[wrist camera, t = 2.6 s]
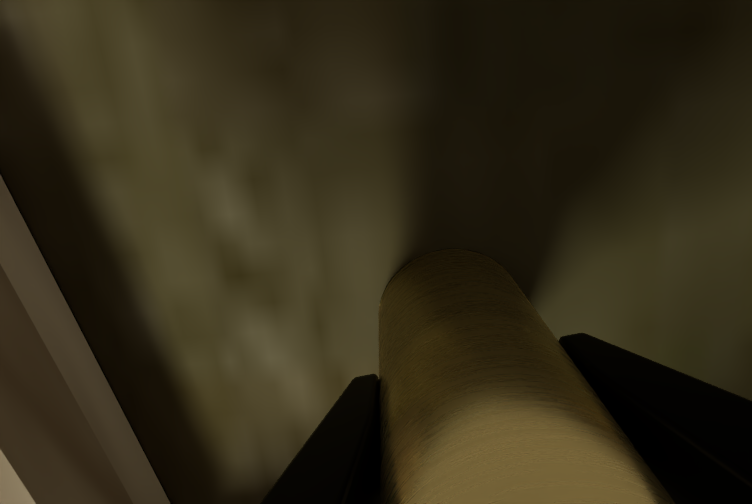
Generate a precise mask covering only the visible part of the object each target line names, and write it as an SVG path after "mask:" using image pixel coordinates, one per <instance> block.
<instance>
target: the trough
mask: <svg viewBox="0 0 752 504" xmlns="http://www.w3.org/2000/svg"><path fill="white" fill-rule="evenodd" d="M0 504H170V502H169V500H168V498H167V496H166V494H165V492H164V490H163V488H162V486H161V484H160V482H159V480H158V478H157V477H156V475H155V473H154V471H153V469H152V467H151V465H150V463H149V461H148V459H147V457H146V455H145V453H144V451H143V449H142V448H141V446H140V444H139V442H138V440H137V438H136V436H135V434H134V432H133V430H132V428H131V426H130V424H129V422H128V420H127V419H126V417H125V415H124V413H123V411H122V409H121V407H120V405H119V403H118V401H117V399H116V397H115V395H114V393H113V391H112V390H111V388H110V386H109V384H108V382H107V380H106V378H105V376H104V374H103V372H102V370H101V368H100V366H99V364H98V362H97V361H96V359H95V357H94V355H93V353H92V351H91V349H90V347H89V345H88V343H87V341H86V339H85V337H84V335H83V333H82V332H81V330H80V328H79V326H78V324H77V322H76V320H75V318H74V316H73V314H72V312H71V310H70V308H69V306H68V304H67V303H66V301H65V299H64V297H63V295H62V293H61V291H60V289H59V287H58V285H57V283H56V281H55V279H54V277H53V275H52V274H51V272H50V270H49V268H48V266H47V264H46V262H45V260H44V258H43V256H42V254H41V252H40V250H39V248H38V246H37V245H36V243H35V241H34V239H33V237H32V235H31V233H30V231H29V229H28V227H27V225H26V223H25V221H24V219H23V217H22V216H21V214H20V212H19V210H18V208H17V206H16V204H15V202H14V200H13V198H12V196H11V194H10V192H9V190H8V188H7V187H6V185H5V183H4V181H3V179H2V177H1V175H0Z"/></svg>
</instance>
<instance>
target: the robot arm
mask: <svg viewBox="0 0 752 504" xmlns="http://www.w3.org/2000/svg"><path fill="white" fill-rule="evenodd" d="M559 343H560V344H561V346H562V347H563V349H564V350H565V351H566V353H567V354H568V356H569V357H570V358H571V360H572V361H573V362H574V364H575V365H576V367H577V368H578V369H579V371H580V372H581V374H582V375H583V376H584V378H585V379H586V380H587V382H588V383H589V385H590V386H591V387H592V389H593V390H594V391H595V393H596V394H597V396H598V397H599V398H600V400H601V401H602V403H603V404H604V405H605V407H606V408H607V409H608V411H609V412H610V414H611V415H612V416H613V418H614V419H615V421H616V422H617V423H618V425H619V426H620V427H621V429H622V430H623V432H624V433H625V434H626V436H627V437H628V438H629V440H630V441H631V443H632V444H633V445H634V447H635V448H636V450H637V451H638V452H639V454H640V455H641V456H642V458H643V459H644V461H645V462H646V463H647V465H648V466H649V468H650V469H651V470H652V472H653V473H654V474H655V476H656V477H657V479H658V480H659V481H660V483H661V484H662V485H663V487H664V488H665V490H666V491H667V492H668V494H669V495H670V497H671V498H672V499H673V501H674V502H675V503H676V504H752V401H750V400H748V399H745V398H743V397H740V396H738V395H735V394H733V393H731V392H728V391H726V390H723V389H721V388H718V387H716V386H713V385H711V384H708V383H706V382H703V381H701V380H699V379H696V378H694V377H691V376H689V375H686V374H684V373H681V372H679V371H676V370H674V369H671V368H669V367H667V366H664V365H662V364H659V363H657V362H654V361H652V360H649V359H647V358H644V357H642V356H639V355H637V354H635V353H632V352H630V351H627V350H625V349H622V348H620V347H617V346H615V345H612V344H610V343H607V342H605V341H603V340H600V339H598V338H595V337H593V336H590V335H588V334H585V333H577V334H572V335H567V336H563V337H561V338H560V339H559ZM260 504H381V495H380V402H379V379H378V377H377V375H375V374H370V375H365V376H360V377H356V378H354V379H353V380H352V381H351V383H350V384H349V385H348V387H347V388H346V389H345V391H344V392H343V393H342V395H341V396H340V397H339V399H338V400H337V401H336V403H335V404H334V405H333V407H332V408H331V409H330V411H329V412H328V413H327V415H326V416H325V417H324V419H323V420H322V421H321V423H320V424H319V425H318V427H317V428H316V429H315V431H314V432H313V433H312V435H311V436H310V437H309V439H308V440H307V441H306V443H305V444H304V445H303V447H302V448H301V449H300V451H299V452H298V453H297V455H296V456H295V458H294V459H293V460H292V462H291V463H290V464H289V466H288V467H287V468H286V470H285V471H284V472H283V474H282V475H281V476H280V478H279V479H278V480H277V482H276V483H275V484H274V486H273V487H272V488H271V490H270V491H269V492H268V494H267V495H266V496H265V498H264V499H263V500H262V502H261V503H260Z"/></svg>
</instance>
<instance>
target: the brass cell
mask: <svg viewBox="0 0 752 504" xmlns="http://www.w3.org/2000/svg"><path fill="white" fill-rule="evenodd" d="M379 402H380V495H381V504H676V503H675V502H674V501H673V499H672V498H671V497H670V495H669V494H668V492H667V491H666V490H665V488H664V487H663V485H662V484H661V483H660V481H659V480H658V479H657V477H656V476H655V474H654V473H653V472H652V470H651V469H650V468H649V466H648V465H647V463H646V462H645V461H644V459H643V458H642V456H641V455H640V454H639V452H638V451H637V450H636V448H635V447H634V445H633V444H632V443H631V441H630V440H629V438H628V437H627V436H626V434H625V433H624V432H623V430H622V429H621V427H620V426H619V425H618V423H617V422H616V421H615V419H614V418H613V416H612V415H611V414H610V412H609V411H608V409H607V408H606V407H605V405H604V404H603V403H602V401H601V400H600V398H599V397H598V396H597V394H596V393H595V391H594V390H593V389H592V387H591V386H590V385H589V383H588V382H587V380H586V379H585V378H584V376H583V375H582V374H581V372H580V371H579V369H578V368H577V367H576V365H575V364H574V362H573V361H572V360H571V358H570V357H569V356H568V354H567V353H566V351H565V350H564V349H563V347H562V346H561V344H560V343H559V342H558V340H557V339H556V338H555V336H554V335H553V333H552V332H551V331H550V329H549V328H548V327H547V325H546V324H545V322H544V321H543V320H542V318H541V317H540V315H539V314H538V313H537V311H536V310H535V309H534V307H533V306H532V304H531V303H530V302H529V300H528V299H527V297H526V296H525V295H524V293H523V292H522V291H521V289H520V288H519V286H518V285H517V284H516V282H515V281H514V280H513V278H512V277H511V276H510V274H509V273H508V272H507V271H506V270H505V269H504V268H503V267H502V266H501V265H500V264H499V263H497V262H496V261H494V260H493V259H491V258H489V257H487V256H485V255H483V254H480V253H477V252H474V251H469V250H463V249H445V250H438V251H434V252H431V253H427V254H425V255H422V256H420V257H418V258H416V259H414V260H413V261H411V262H409V263H408V264H407V265H405V266H404V267H403V268H401V269H400V270H399V271H398V272H397V273H396V274H395V276H394V277H393V278H392V279H391V281H390V282H389V284H388V285H387V287H386V289H385V291H384V293H383V296H382V298H381V302H380V306H379Z"/></svg>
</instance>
